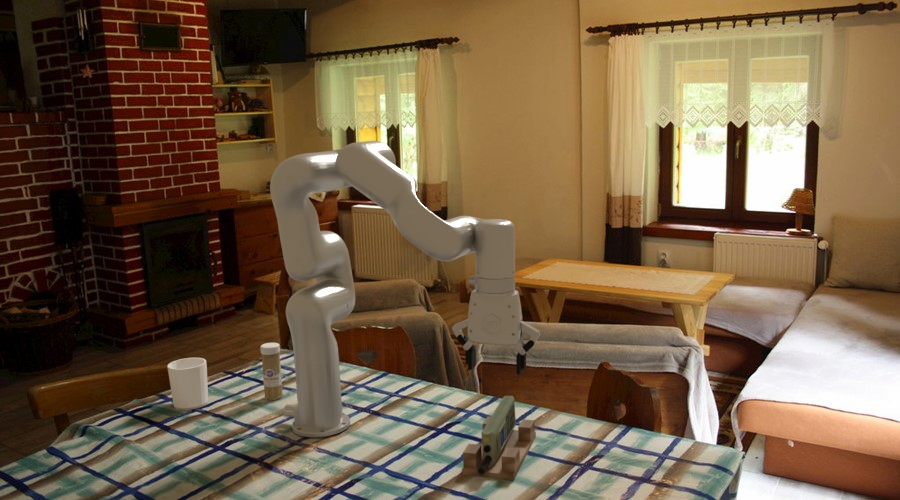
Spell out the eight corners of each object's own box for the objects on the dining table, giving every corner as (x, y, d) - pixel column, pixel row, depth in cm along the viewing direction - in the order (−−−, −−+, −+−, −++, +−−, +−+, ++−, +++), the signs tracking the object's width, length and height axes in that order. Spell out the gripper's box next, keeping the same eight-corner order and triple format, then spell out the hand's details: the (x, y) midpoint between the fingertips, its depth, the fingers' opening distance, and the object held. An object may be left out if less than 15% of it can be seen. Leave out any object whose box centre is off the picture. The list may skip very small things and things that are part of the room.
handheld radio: (518, 425, 166) (490, 478, 143) (503, 425, 167) (473, 477, 144) (516, 395, 165) (488, 444, 142) (501, 395, 166) (470, 443, 143)
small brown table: (462, 474, 147) (461, 454, 146) (489, 432, 166) (488, 414, 165) (513, 480, 144) (513, 459, 143) (535, 436, 163) (535, 418, 162)
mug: (218, 401, 191) (214, 360, 189) (188, 413, 183) (184, 371, 182) (188, 393, 197) (184, 354, 195) (158, 405, 189) (153, 364, 187)
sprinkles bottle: (264, 401, 189) (260, 348, 187) (264, 395, 193) (260, 343, 191) (283, 399, 190) (279, 346, 188) (283, 393, 194) (279, 341, 192)
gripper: (446, 286, 148) (447, 372, 151) (536, 291, 143) (535, 380, 146) (457, 277, 155) (458, 360, 158) (544, 282, 150) (543, 367, 153)
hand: (495, 370), depth 152 cm, fingers open, 9 cm apart
